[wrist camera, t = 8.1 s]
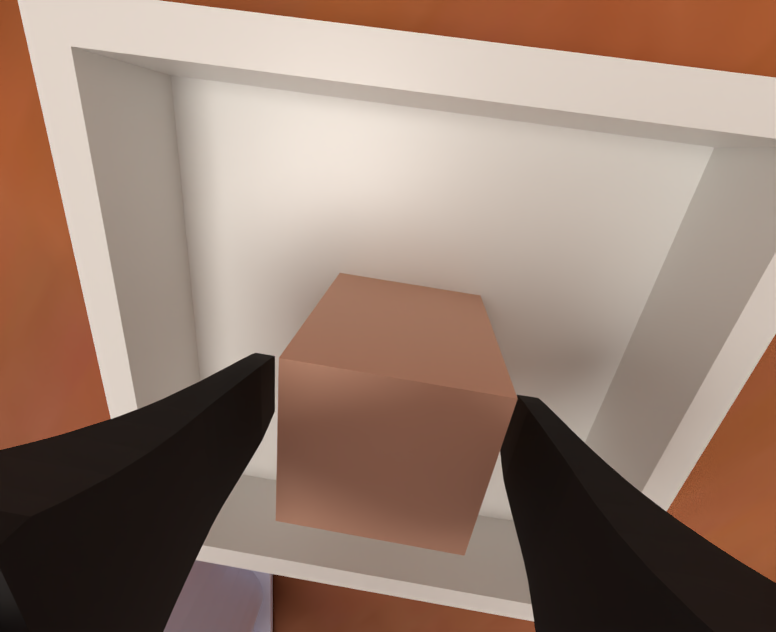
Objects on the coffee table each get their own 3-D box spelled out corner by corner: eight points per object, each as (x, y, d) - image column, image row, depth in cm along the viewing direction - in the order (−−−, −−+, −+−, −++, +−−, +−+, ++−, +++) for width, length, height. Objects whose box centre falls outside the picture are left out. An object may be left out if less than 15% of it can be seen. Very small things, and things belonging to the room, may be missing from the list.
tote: (559, 535, 18) (592, 632, 15) (195, 472, 19) (139, 550, 15) (754, 114, 11) (921, 96, 7) (145, 35, 11) (13, -18, 8)
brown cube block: (451, 410, 15) (464, 555, 10) (329, 389, 15) (275, 520, 10) (480, 295, 13) (517, 398, 8) (339, 272, 13) (278, 358, 8)
